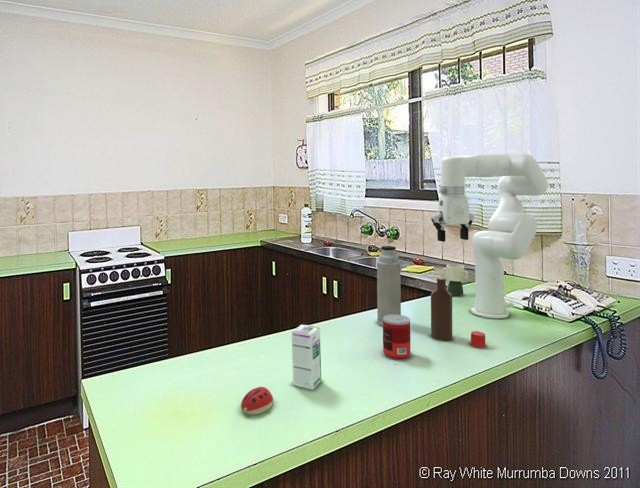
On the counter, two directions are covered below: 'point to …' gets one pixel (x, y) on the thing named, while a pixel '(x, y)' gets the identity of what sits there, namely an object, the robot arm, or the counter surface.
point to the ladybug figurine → (257, 401)
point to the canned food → (396, 336)
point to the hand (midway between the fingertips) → (453, 240)
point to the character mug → (455, 278)
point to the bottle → (441, 312)
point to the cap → (478, 339)
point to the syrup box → (306, 356)
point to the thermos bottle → (388, 284)
